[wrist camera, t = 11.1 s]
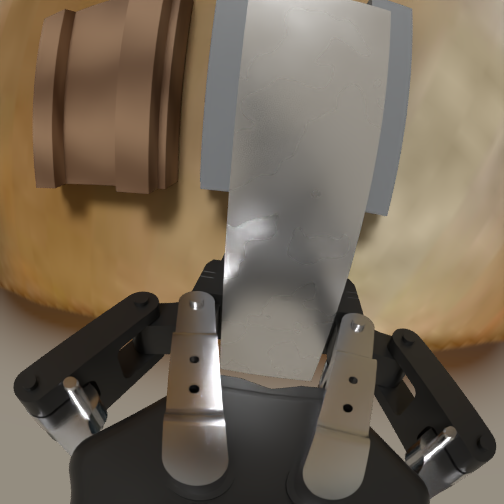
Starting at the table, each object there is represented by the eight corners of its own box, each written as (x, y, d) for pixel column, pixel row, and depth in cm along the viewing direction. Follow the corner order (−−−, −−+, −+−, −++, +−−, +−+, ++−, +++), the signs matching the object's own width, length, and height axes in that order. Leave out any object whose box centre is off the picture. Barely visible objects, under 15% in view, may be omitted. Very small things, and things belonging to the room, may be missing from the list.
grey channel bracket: (380, 201, 17) (394, 217, 14) (207, 176, 17) (191, 188, 15) (402, 25, 11) (420, 11, 8) (224, -1, 12) (211, -20, 9)
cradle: (177, 181, 18) (156, 194, 15) (59, 176, 19) (32, 187, 16) (194, -5, 12) (175, -24, 9) (66, 26, 13) (40, 21, 10)
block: (309, 323, 15) (310, 381, 11) (235, 312, 15) (219, 368, 12) (360, 41, 9) (390, 11, 5) (263, 26, 9) (249, -13, 5)
